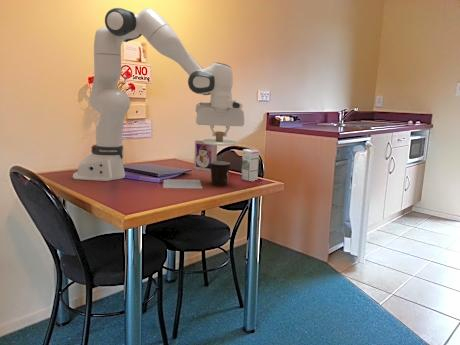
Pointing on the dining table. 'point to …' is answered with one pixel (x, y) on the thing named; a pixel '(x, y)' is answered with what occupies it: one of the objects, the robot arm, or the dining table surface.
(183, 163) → the dining table surface
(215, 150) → the greeting card
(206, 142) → the sage lid
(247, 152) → the syrup box
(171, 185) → the grey mat
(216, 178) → the coffee mug
